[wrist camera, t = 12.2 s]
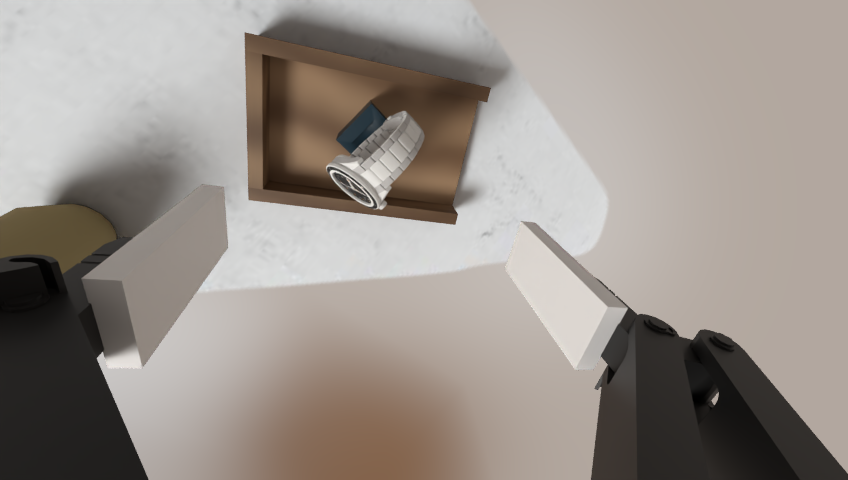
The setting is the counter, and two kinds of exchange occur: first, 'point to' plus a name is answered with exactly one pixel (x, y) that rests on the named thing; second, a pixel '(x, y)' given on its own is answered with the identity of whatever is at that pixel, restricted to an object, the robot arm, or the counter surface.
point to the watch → (374, 154)
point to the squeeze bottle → (54, 233)
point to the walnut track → (332, 110)
